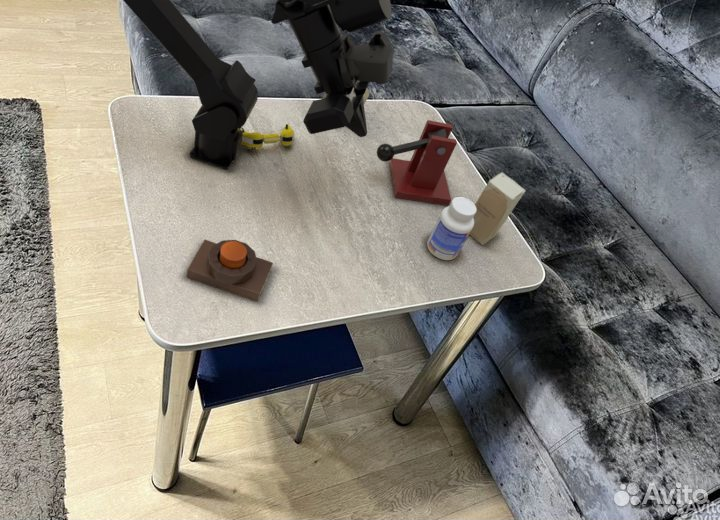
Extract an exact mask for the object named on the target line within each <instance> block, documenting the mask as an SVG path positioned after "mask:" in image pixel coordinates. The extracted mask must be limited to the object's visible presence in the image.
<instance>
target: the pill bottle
mask: <svg viewBox="0 0 720 520" xmlns="http://www.w3.org/2000/svg"><path fill="white" fill-rule="evenodd" d="M475 204H476V203H474V202H473V201H472V200H471V199H469V198H467V197H463V196H457V197H454V198H453V199H451V202H450V204H449V205H447V206H446V207H444V209H442V210H441V213H440V215H439V216H438V218H437V221H436V223H435V225H434V226H433V228H432V231H431V232H430V235H429V237H428V239H427V242H426V245H427V249H428V251H429V252H430V254H431V255H433V256H434V257H436V258H437V259H440V260H444V261H451V260H453V259H455V258H457V257H458V255H459V253H460V252H461V250H462V248H463V246H464V244H465V242H466V241H467V239H468V237H469V236H470V232H471V230H472V228H473V226H474V219H473V217H474V215H475V213H476V206H475Z"/></svg>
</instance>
